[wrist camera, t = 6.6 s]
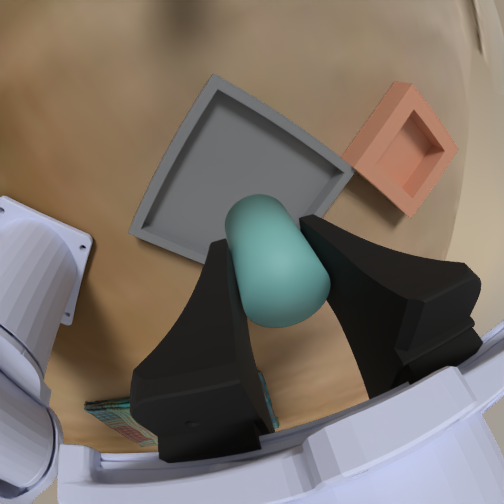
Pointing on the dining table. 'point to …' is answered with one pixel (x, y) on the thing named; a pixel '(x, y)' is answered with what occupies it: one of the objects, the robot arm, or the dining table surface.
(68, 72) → the dining table surface
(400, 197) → the salmon square dish
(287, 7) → the dining table surface
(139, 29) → the dining table surface
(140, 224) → the tray
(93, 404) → the dish towel
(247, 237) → the pin
